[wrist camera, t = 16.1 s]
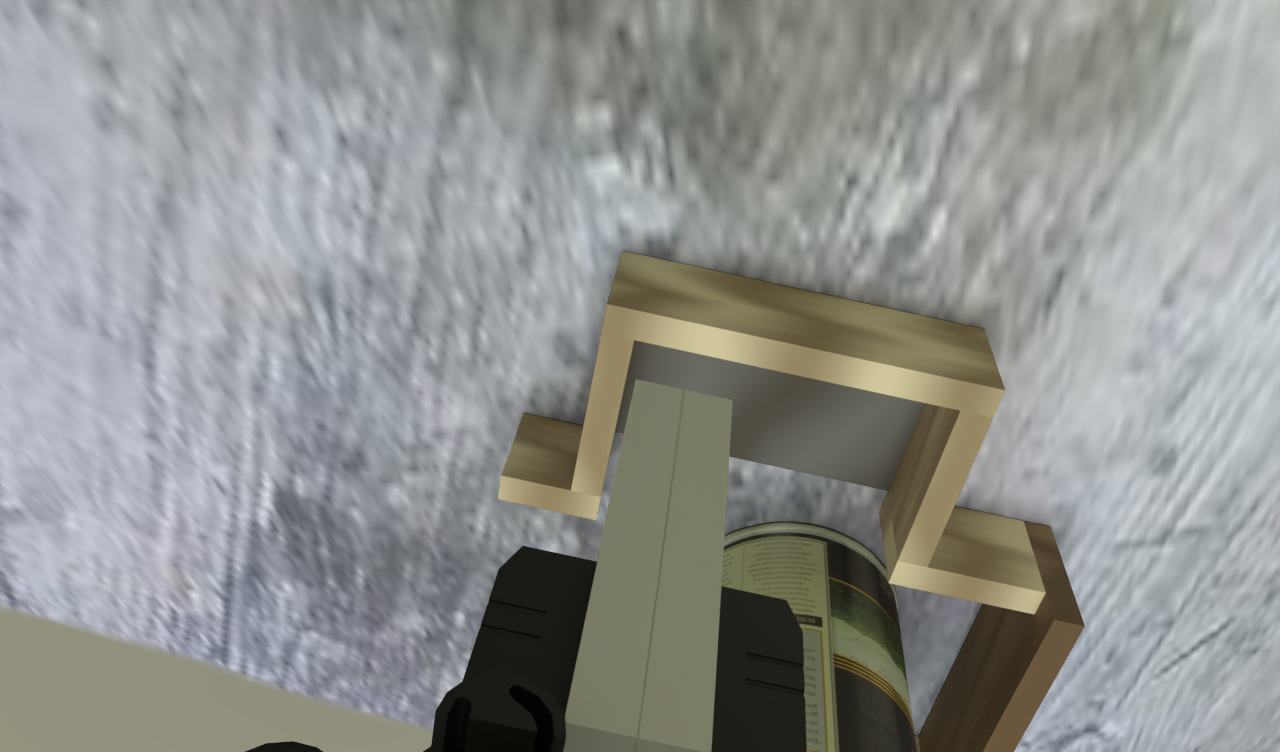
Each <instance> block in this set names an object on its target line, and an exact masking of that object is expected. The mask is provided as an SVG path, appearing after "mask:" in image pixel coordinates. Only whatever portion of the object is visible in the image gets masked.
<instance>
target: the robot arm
mask: <svg viewBox="0 0 1280 752" xmlns="http://www.w3.org/2000/svg"><path fill="white" fill-rule="evenodd" d="M732 403H733V400H730V399H726V398H721V397H716V396H712V395H707V394H703V393H698V392H693V391H689V390H684V389H679V388H675V387H670V386H666V385H661V384H656V383H652V382H647V381H642V380H638V379H636V380H635V385H634V390H633V394H632V399H631V403H630V408H629V412H628V417H627V422H626V426H625V431H624V435H623V440H622V444H621V449H620V454H619V458H618V463H617V467H616V472H615V476H614V481H613V485H612V490H611V495H610V499H609V504H608V508H607V513H606V517H605V522H604V527H603V532H602V536H601V541H600V546H599V551H598V555H597V560H596V561H591V560H586V559H582V558H577V557H572V556H568V555H563V554H558V553H554V552H549V551H544V550H540V549H535V548H530V547H526V546H522V547H521V548H520V549H519V550H518V551H517V552H516V553H515V554H514V555H513V556H512V557H511V558H510V559H509V560H508V561H507V562H506V563H505V564H504V565H503V566H502V567H501V568H500V569H499V570H498V573H497V577H496V580H495V583H494V586H493V589H492V592H491V595H490V598H489V602H488V605H487V607H486V611H485V614H484V617H483V620H482V623H481V627H480V630H479V632H478V635H477V638H476V642H475V645H474V648H473V651H472V654H471V657H470V660H469V663H468V666H467V669H466V672H465V676H464V679H463V682H461V683H460V684H459V685H457V686H456V687H454V688H453V689H451V690H450V691H448V692H447V694H446V695H445V697H444V698H443V700H442V702H441V703H440V705H439V706H438V708H437V710H436V713H435V721H434V729H433V737H432V745H431V747H429V748H428V749H426V750H425V751H424V752H807V743H806V711H805V697H804V692H805V680H804V670H803V666H804V648H803V631H802V629H801V627H800V625H799V623H798V621H797V619H796V617H795V615H794V613H793V612H792V610H791V608H790V606H789V604H788V602H787V600H784V599H779V598H774V597H770V596H765V595H760V594H756V593H751V592H747V591H742V590H737V589H733V588H728V587H723V586H721V584H722V568H723V551H724V535H725V518H726V502H727V485H728V469H729V453H730V436H731V420H732ZM246 752H323V751H321V750H320V749H318V748H317V747H313V746H309V745H305V744H301V743H297V742H293V741H292V742H280V743H266V744H264V745H261V746H259V747H256V748H254V749H251V750H248V751H246Z"/></svg>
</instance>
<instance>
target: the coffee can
mask: <svg viewBox="0 0 1280 752" xmlns="http://www.w3.org/2000/svg"><path fill="white" fill-rule="evenodd" d="M721 586H723V587H728V588H733V589H737V590H742V591H747V592H751V593H756V594H760V595H765V596H770V597H774V598H779V599H784V600H787V602H788V604H789V606H790V608H791V610H792V612H793V613H794V615H795V617H796V619H797V621H798V623H799V625H800V627H801V629H802V631H803V648H804V666H803V670H804V680H805V692H804V697H805V711H806V743H807V752H917V747H916V740H915V734H914V727H913V720H912V713H911V706H910V699H909V692H908V685H907V678H906V671H905V662H904V655H903V648H902V640H901V632H900V626H899V618H898V597H897V593H896V589H895V586H894V584H890V583H888V575H887V570H886V568H885V567H884V566H883V565H882V564H881V562H880V561H879V560H878V559H877V558H876V557H875V556H874V555H873V554H872V553H871V552H870V551H868V550H867V549H866V548H865V547H863V546H862V545H860V544H859V543H857V542H856V541H854V540H852V539H850V538H849V537H847V536H845V535H843V534H840V533H838V532H835V531H832V530H829V529H826V528H823V527H819V526H815V525H808V524H801V523H771V524H763V525H757V526H752V527H748V528H745V529H742V530H738V531H735V532H733V533H731V534H728V535H727V536H725V537H724V551H723V568H722V584H721Z"/></svg>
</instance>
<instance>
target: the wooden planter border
mask: <svg viewBox="0 0 1280 752" xmlns="http://www.w3.org/2000/svg"><path fill="white" fill-rule="evenodd" d="M636 379H638V380H642V381H647V382H652V383H656V384H661V385H666V386H670V387H675V388H679V389H684V390H689V391H693V392H698V393H703V394H707V395H712V396H716V397H721V398H726V399H730V400H733V403H732V420H731V436H730V453H729V456H730V457H735V458H739V459H744V460H749V461H753V462H758V463H762V464H767V465H772V466H776V467H781V468H786V469H790V470H795V471H800V472H804V473H809V474H813V475H818V476H823V477H827V478H832V479H837V480H841V481H846V482H850V483H855V484H860V485H864V486H869V487H874V488H878V489H883V490H888V492H887V495H886V497H885V500H884V502H883V505H882V507H881V510H880V512H879V515H880V522H881V530H882V537H883V545H884V553H885V560H886V568H887V575H888V583H890V584H895V585H900V586H904V587H909V588H914V589H918V590H923V591H928V592H932V593H937V594H941V595H946V596H951V597H955V598H960V599H965V600H969V601H974V602H979V603H983V605H982V607H981V609H980V611H979V613H978V615H977V617H976V620H975V622H974V624H973V626H972V628H971V630H970V632H969V634H968V636H967V638H966V640H965V642H964V644H963V646H962V648H961V650H960V652H959V654H958V656H957V658H956V660H955V663H954V665H953V667H952V669H951V671H950V673H949V675H948V677H947V679H946V681H945V683H944V685H943V687H942V689H941V691H940V693H939V695H938V697H937V699H936V701H935V703H934V706H933V708H932V710H931V712H930V714H929V716H928V718H927V720H926V722H925V724H924V726H923V728H922V730H921V732H920V734H919V736H915V740H916V747H917V752H1014V750H1015V749H1016V747H1017V745H1018V743H1019V742H1020V740H1021V738H1022V736H1023V734H1024V733H1025V731H1026V729H1027V727H1028V726H1029V724H1030V722H1031V720H1032V719H1033V717H1034V715H1035V713H1036V711H1037V710H1038V708H1039V706H1040V704H1041V703H1042V701H1043V699H1044V697H1045V696H1046V694H1047V692H1048V690H1049V689H1050V687H1051V685H1052V683H1053V681H1054V680H1055V678H1056V676H1057V674H1058V673H1059V671H1060V669H1061V667H1062V666H1063V664H1064V662H1065V660H1066V658H1067V657H1068V655H1069V653H1070V651H1071V650H1072V648H1073V646H1074V644H1075V643H1076V641H1077V639H1078V637H1079V635H1080V634H1081V632H1082V630H1083V628H1084V627H1085V626H1084V623H1083V620H1082V617H1081V614H1080V611H1079V608H1078V605H1077V602H1076V599H1075V596H1074V594H1073V591H1072V588H1071V585H1070V582H1069V579H1068V576H1067V573H1066V570H1065V567H1064V564H1063V561H1062V558H1061V555H1060V553H1059V550H1058V547H1057V544H1056V541H1055V538H1054V535H1053V532H1052V529H1051V527H1049V526H1044V525H1040V524H1035V523H1030V522H1026V521H1021V520H1016V519H1012V518H1007V517H1003V516H998V515H993V514H989V513H984V512H979V511H975V510H970V509H965V508H961V507H956V506H955V503H956V501H957V499H958V497H959V494H960V492H961V490H962V488H963V485H964V483H965V481H966V478H967V476H968V474H969V472H970V469H971V467H972V465H973V463H974V460H975V458H976V456H977V453H978V451H979V449H980V447H981V444H982V442H983V440H984V437H985V435H986V433H987V431H988V428H989V426H990V424H991V422H992V419H993V417H994V415H995V412H996V410H997V408H998V406H999V403H1000V401H1001V399H1002V397H1003V394H1004V392H1005V388H1004V385H1003V382H1002V379H1001V377H1000V374H999V371H998V368H997V365H996V362H995V359H994V356H993V353H992V350H991V347H990V345H989V342H988V339H987V336H986V333H985V330H984V329H981V328H976V327H972V326H967V325H963V324H958V323H953V322H949V321H944V320H940V319H935V318H930V317H926V316H921V315H917V314H912V313H907V312H903V311H898V310H894V309H889V308H884V307H880V306H875V305H871V304H866V303H861V302H857V301H852V300H847V299H843V298H838V297H834V296H829V295H824V294H820V293H815V292H811V291H806V290H801V289H797V288H792V287H788V286H783V285H778V284H774V283H769V282H765V281H760V280H755V279H751V278H746V277H742V276H737V275H732V274H728V273H723V272H719V271H714V270H709V269H705V268H700V267H696V266H691V265H686V264H682V263H677V262H672V261H668V260H663V259H659V258H654V257H649V256H645V255H640V254H636V253H631V252H626V251H622V253H621V257H620V260H619V264H618V267H617V271H616V274H615V278H614V281H613V285H612V288H611V292H610V295H609V299H608V302H607V307H606V312H605V317H604V322H603V327H602V332H601V338H600V343H599V348H598V353H597V358H596V363H595V369H594V374H593V379H592V384H591V389H590V394H589V400H588V405H587V410H586V415H585V420H584V425H583V426H581V425H576V424H572V423H567V422H562V421H558V420H553V419H549V418H544V417H539V416H535V415H530V414H525V413H524V414H523V417H522V420H521V422H520V425H519V428H518V431H517V434H516V436H515V439H514V442H513V445H512V447H511V450H510V453H509V456H508V459H507V461H506V464H505V467H504V470H503V472H502V475H501V481H500V488H499V495H498V499H500V500H505V501H509V502H514V503H519V504H523V505H528V506H533V507H537V508H542V509H547V510H551V511H556V512H560V513H565V514H570V515H574V516H579V517H584V518H588V519H593V520H596V517H597V512H598V508H599V503H600V499H601V494H602V490H603V485H604V481H605V476H606V472H607V467H608V463H609V458H610V454H611V449H612V444H613V440H614V435H615V432H619V433H623V434H624V431H625V426H626V422H627V417H628V412H629V408H630V403H631V399H632V394H633V390H634V385H635V380H636Z"/></svg>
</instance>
